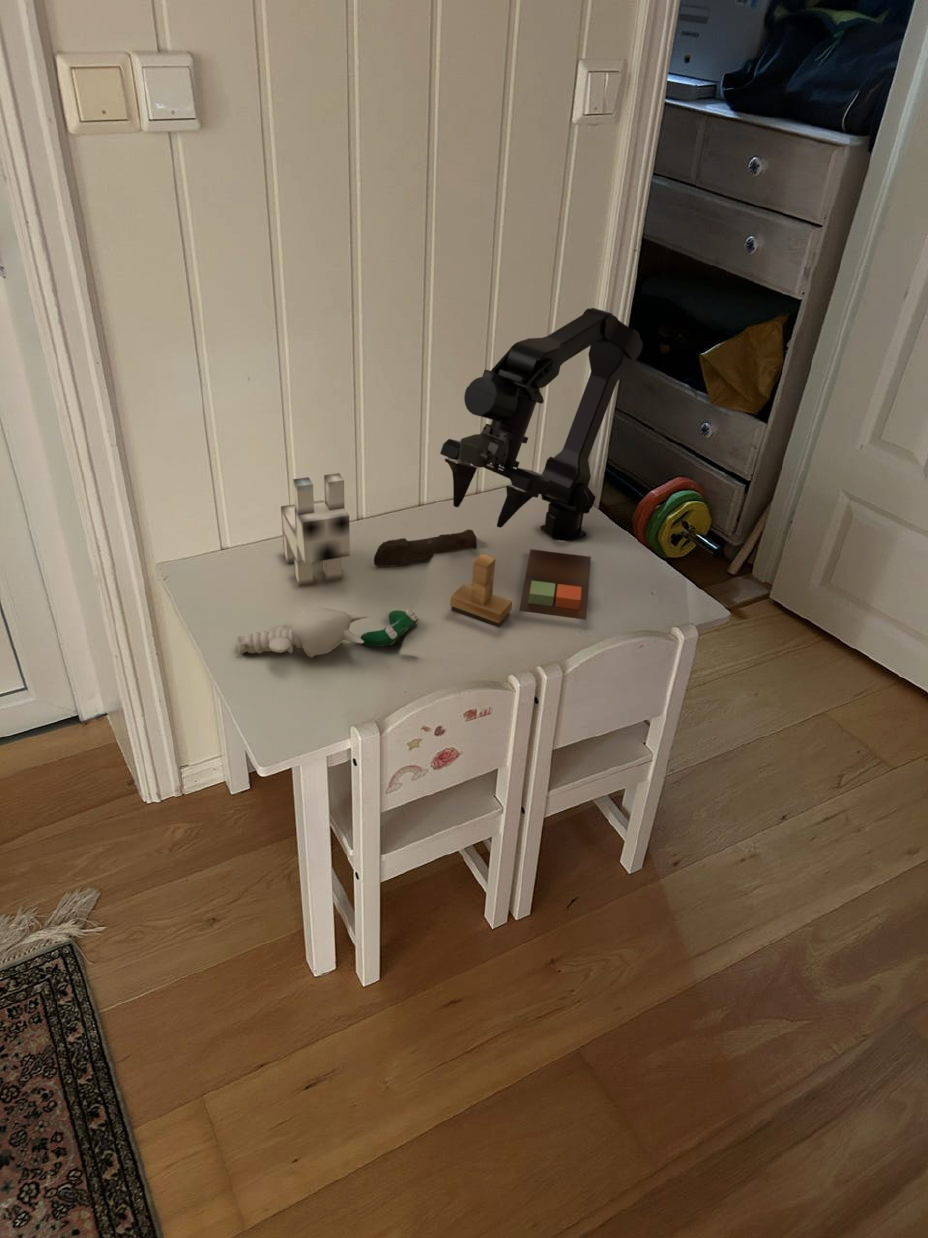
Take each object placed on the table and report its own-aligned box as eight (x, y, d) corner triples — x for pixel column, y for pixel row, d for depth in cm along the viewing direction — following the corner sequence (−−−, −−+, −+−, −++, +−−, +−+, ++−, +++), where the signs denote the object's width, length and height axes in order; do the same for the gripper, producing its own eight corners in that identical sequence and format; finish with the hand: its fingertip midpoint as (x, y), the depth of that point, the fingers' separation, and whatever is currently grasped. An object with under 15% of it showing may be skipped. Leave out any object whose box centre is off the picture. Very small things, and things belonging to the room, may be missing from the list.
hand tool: (469, 544, 171) (470, 522, 168) (477, 555, 168) (478, 532, 165) (370, 559, 165) (369, 537, 162) (376, 571, 162) (376, 548, 159)
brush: (462, 605, 155) (466, 545, 148) (510, 622, 152) (516, 562, 145) (449, 617, 152) (452, 557, 145) (498, 635, 148) (504, 575, 142)
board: (529, 555, 169) (530, 548, 168) (589, 563, 168) (591, 556, 167) (518, 618, 153) (519, 610, 152) (585, 627, 152) (586, 619, 151)
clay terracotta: (556, 593, 157) (557, 583, 155) (580, 596, 156) (581, 586, 155) (554, 606, 153) (556, 596, 152) (579, 610, 153) (580, 600, 152)
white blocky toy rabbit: (321, 542, 169) (317, 440, 157) (350, 594, 156) (348, 487, 144) (280, 549, 166) (273, 445, 154) (306, 602, 153) (301, 493, 141)
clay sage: (530, 590, 157) (531, 580, 156) (554, 593, 157) (555, 583, 156) (528, 603, 154) (529, 593, 153) (552, 606, 153) (553, 596, 152)
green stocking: (369, 659, 145) (392, 647, 140) (355, 638, 144) (378, 626, 140) (403, 630, 151) (426, 618, 147) (390, 611, 151) (413, 598, 146)
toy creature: (240, 608, 145) (367, 592, 145) (249, 652, 147) (374, 637, 147) (223, 631, 133) (362, 614, 133) (233, 679, 135) (370, 662, 135)
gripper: (435, 398, 146) (405, 492, 150) (530, 436, 136) (494, 535, 140) (475, 409, 155) (445, 498, 159) (566, 445, 145) (532, 538, 149)
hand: (477, 516), depth 152 cm, fingers open, 9 cm apart
